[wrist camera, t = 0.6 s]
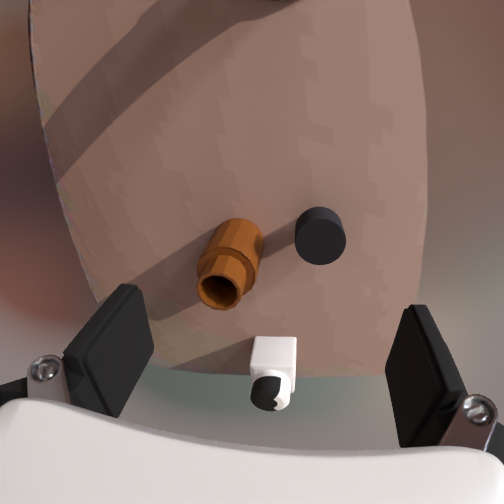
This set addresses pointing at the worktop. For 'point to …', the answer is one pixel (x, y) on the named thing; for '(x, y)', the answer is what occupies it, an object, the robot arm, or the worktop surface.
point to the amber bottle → (229, 264)
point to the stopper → (319, 236)
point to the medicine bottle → (272, 371)
